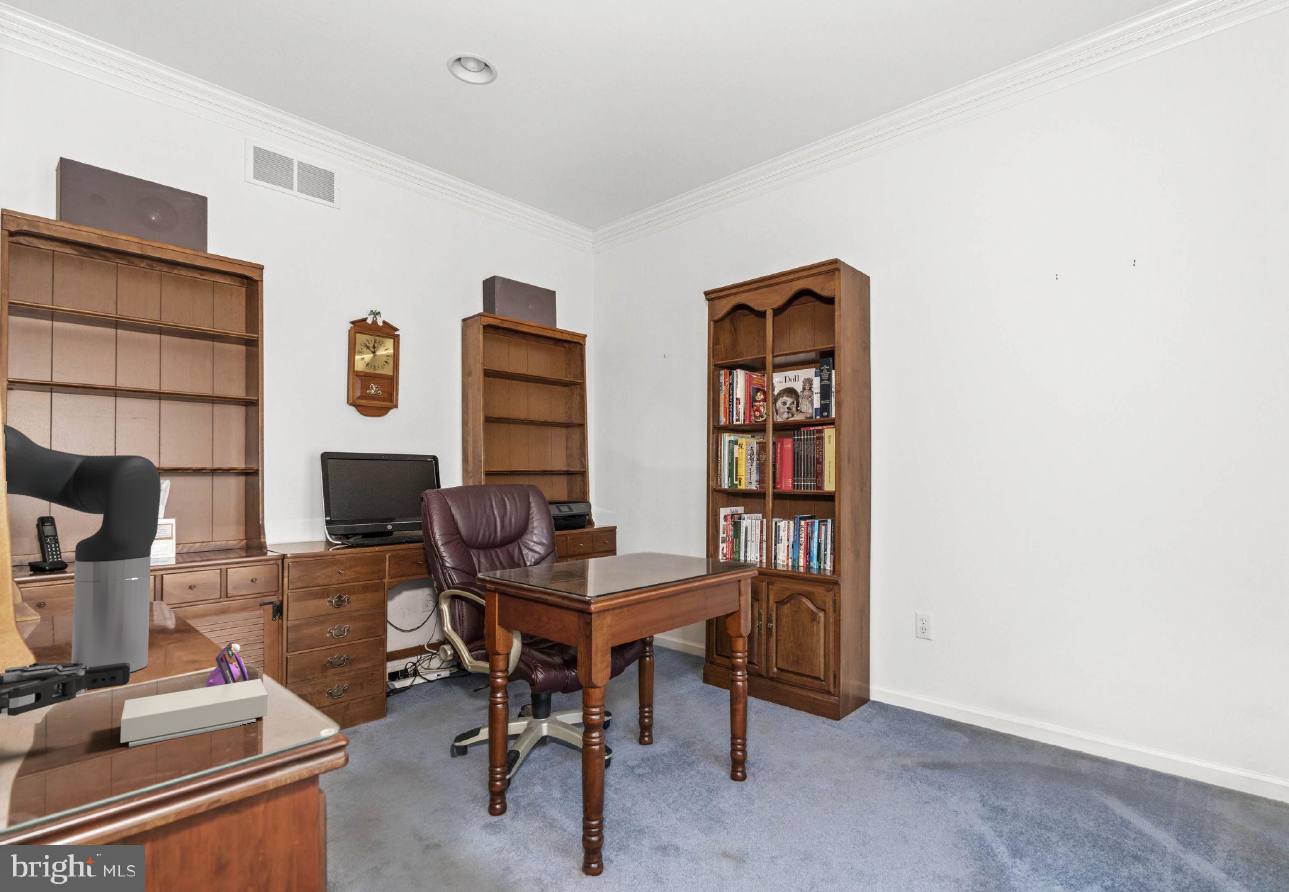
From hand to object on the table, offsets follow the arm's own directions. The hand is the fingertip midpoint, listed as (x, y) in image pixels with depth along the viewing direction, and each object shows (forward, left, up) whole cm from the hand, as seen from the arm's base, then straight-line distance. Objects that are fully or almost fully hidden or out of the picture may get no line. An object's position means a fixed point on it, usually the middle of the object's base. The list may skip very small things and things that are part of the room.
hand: (129, 672), depth 76 cm
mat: (-1, +6, -7) cm, 9 cm away
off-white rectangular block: (0, 0, -5) cm, 5 cm away
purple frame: (-11, +8, -7) cm, 15 cm away
